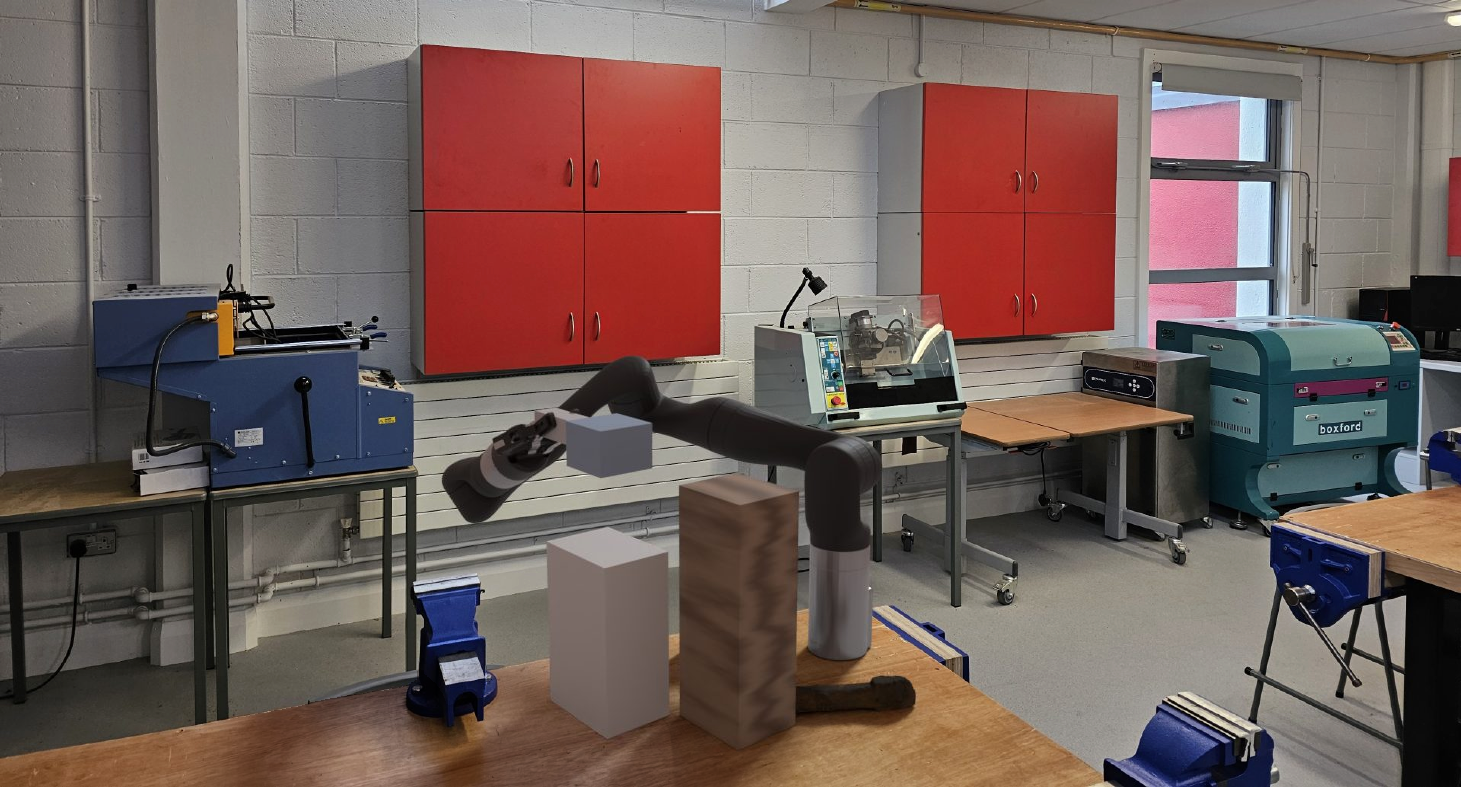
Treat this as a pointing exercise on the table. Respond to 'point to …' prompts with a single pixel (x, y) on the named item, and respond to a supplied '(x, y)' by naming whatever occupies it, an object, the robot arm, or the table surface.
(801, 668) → the table surface
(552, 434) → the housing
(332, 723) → the table surface
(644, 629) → the grey pedestal
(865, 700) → the hand tool
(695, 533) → the walnut stand
